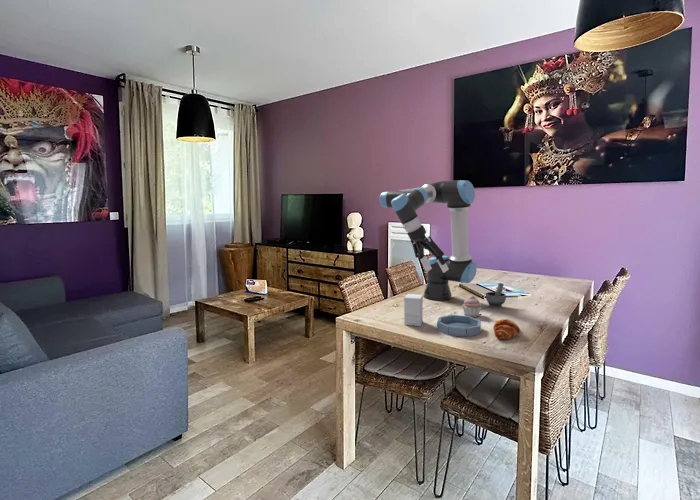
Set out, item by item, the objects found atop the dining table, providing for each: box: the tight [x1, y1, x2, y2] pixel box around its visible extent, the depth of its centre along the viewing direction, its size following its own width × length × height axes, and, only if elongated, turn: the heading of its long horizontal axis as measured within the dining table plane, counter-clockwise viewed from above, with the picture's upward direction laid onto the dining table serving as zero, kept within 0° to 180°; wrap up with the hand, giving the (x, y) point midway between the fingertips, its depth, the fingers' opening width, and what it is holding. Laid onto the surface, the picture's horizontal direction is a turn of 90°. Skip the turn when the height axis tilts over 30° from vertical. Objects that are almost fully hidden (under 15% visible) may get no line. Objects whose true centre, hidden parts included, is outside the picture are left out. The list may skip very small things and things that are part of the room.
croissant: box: [493, 318, 521, 340], centre depth 164 cm, size 21×10×8 cm, turn 145°
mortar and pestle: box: [485, 282, 507, 310], centre depth 203 cm, size 11×9×12 cm
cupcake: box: [461, 295, 483, 318], centre depth 189 cm, size 9×9×10 cm
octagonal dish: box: [436, 314, 482, 338], centre depth 170 cm, size 18×18×4 cm
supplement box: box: [403, 293, 424, 327], centre depth 178 cm, size 7×7×13 cm
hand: (437, 270), depth 174 cm, fingers open, 13 cm apart
